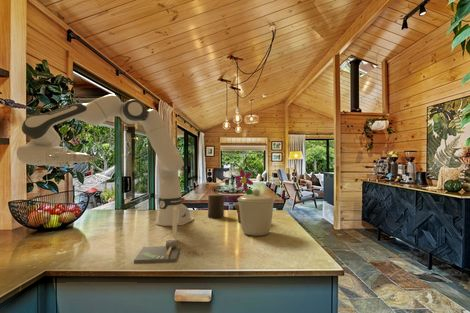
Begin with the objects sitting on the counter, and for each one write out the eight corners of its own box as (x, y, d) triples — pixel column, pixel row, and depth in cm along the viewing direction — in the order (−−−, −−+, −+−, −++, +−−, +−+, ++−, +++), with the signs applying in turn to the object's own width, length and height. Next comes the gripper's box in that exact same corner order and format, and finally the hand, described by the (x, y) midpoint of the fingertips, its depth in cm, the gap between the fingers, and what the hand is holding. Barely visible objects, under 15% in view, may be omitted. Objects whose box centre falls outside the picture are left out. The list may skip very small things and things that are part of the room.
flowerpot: (229, 222, 153) (229, 169, 153) (243, 218, 164) (243, 168, 165) (251, 226, 145) (251, 169, 145) (264, 221, 156) (264, 169, 157)
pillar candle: (217, 219, 161) (217, 193, 162) (204, 217, 167) (205, 192, 167) (226, 216, 170) (227, 192, 170) (214, 214, 175) (214, 191, 175)
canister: (231, 230, 136) (231, 188, 136) (263, 227, 143) (263, 186, 143) (247, 240, 119) (247, 192, 119) (282, 236, 126) (282, 190, 127)
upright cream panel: (171, 236, 120) (171, 206, 121) (180, 235, 121) (180, 206, 121) (161, 256, 95) (161, 219, 95) (173, 256, 95) (173, 219, 95)
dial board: (143, 249, 106) (143, 246, 106) (179, 248, 108) (179, 245, 108) (133, 262, 93) (133, 259, 93) (175, 261, 94) (175, 258, 94)
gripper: (46, 148, 110) (82, 150, 111) (71, 150, 130) (101, 152, 131) (44, 164, 109) (80, 166, 111) (70, 163, 130) (100, 165, 131)
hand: (92, 158), depth 121 cm, fingers open, 8 cm apart
